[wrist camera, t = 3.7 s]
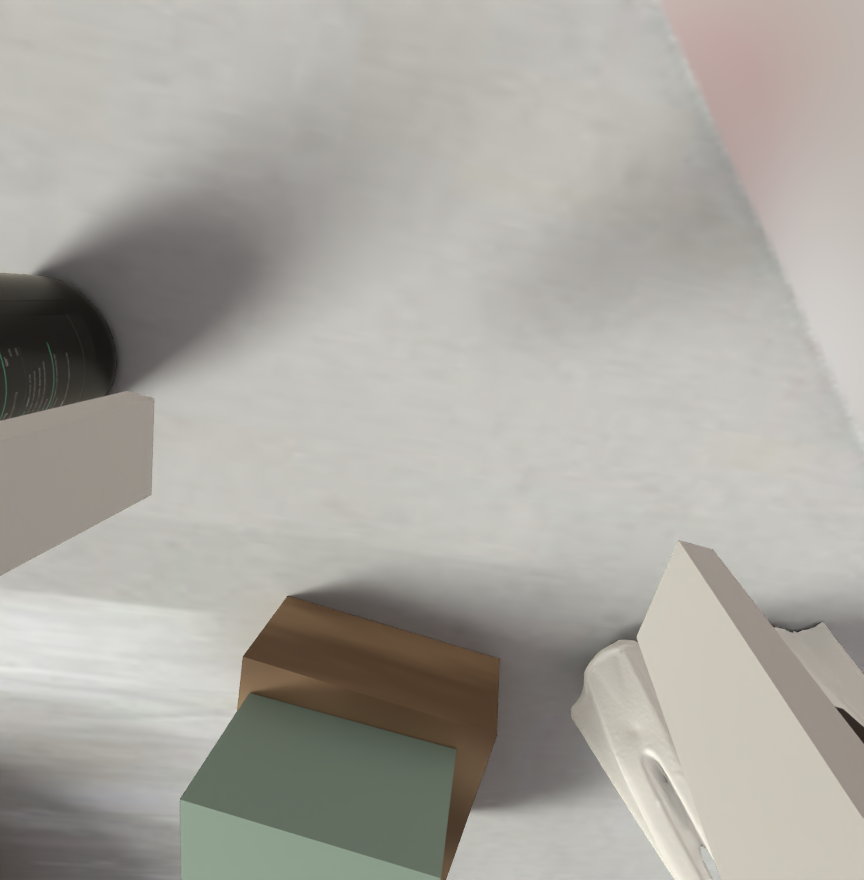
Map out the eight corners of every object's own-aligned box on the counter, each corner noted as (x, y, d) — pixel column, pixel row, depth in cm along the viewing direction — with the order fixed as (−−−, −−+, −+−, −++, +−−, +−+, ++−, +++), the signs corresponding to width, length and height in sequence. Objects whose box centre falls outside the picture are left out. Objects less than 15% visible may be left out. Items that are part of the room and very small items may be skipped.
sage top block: (249, 692, 23) (179, 799, 18) (456, 749, 22) (440, 878, 17) (242, 833, 26) (181, 955, 21) (422, 888, 25) (401, 1029, 20)
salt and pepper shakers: (566, 691, 25) (604, 972, 15) (561, 624, 24) (597, 877, 14) (823, 694, 23) (1083, 1028, 13) (830, 620, 22) (1122, 919, 11)
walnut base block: (290, 592, 27) (242, 656, 22) (499, 653, 26) (497, 735, 21) (268, 745, 31) (224, 828, 26) (450, 804, 30) (438, 901, 25)
